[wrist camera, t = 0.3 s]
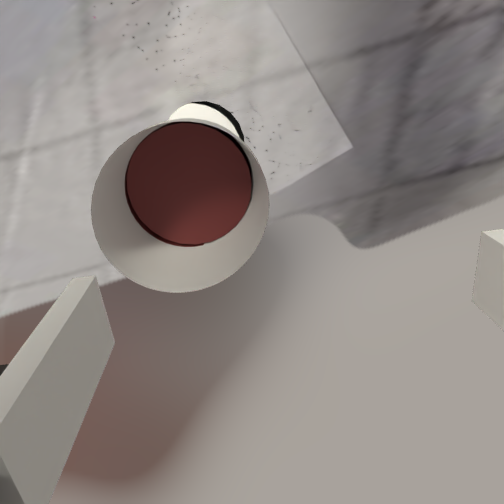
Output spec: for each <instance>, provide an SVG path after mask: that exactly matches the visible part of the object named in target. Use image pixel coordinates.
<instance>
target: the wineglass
mask: <svg viewBox="0 0 504 504" xmlns="http://www.w3.org/2000/svg"><path fill="white" fill-rule="evenodd" d="M268 215H269V192H268V187H267V183H266V179H265V176H264V174H263V172H262V169H261V167H260V165H259V162H258V160H257V158H256V157H255V155H254V154H253V152H252V151H251V149H250V148H249V147H248V146H247V145H246V144H245V143H244V135H243V132H242V130H241V127H240V124H239V123H238V121H237V120H236V119H235V118H234V116H233V115H232V114H231V113H230V112H229V111H228V110H226V109H225V108H223V107H222V106H220V105H218V104H214V103H211V102H207V101H202V102H192V103H189V104H187V105H184V106H182V107H180V108H179V109H178V110H177V111H176V112H174V113H173V114H172V115H171V116H170V118H169V120H168V121H164V122H162V123H159V124H156V125H153V126H151V127H148V128H146V129H145V130H143V131H141V132H139V133H138V134H136V135H134V136H132V137H131V138H129V139H128V140H127V141H126V142H124V143H123V144H122V145H120V146H119V147H118V148H117V150H116V151H115V152H114V153H113V154H112V155H111V156H110V157H109V159H108V160H107V162H106V163H105V165H104V166H103V168H102V169H101V172H100V174H99V176H98V178H97V181H96V183H95V187H94V191H93V195H92V205H91V216H92V225H93V229H94V233H95V237H96V239H97V241H98V244H99V246H100V248H101V250H102V251H103V253H104V254H105V256H106V258H107V259H108V260H109V261H110V263H111V264H112V265H113V266H114V267H115V268H116V269H117V270H118V271H119V272H121V273H122V274H123V275H124V276H126V277H127V278H129V279H130V280H132V281H134V282H135V283H137V284H140V285H142V286H144V287H147V288H149V289H154V290H158V291H162V292H172V293H178V292H191V291H197V290H201V289H204V288H207V287H210V286H213V285H215V284H217V283H219V282H221V281H223V280H225V279H226V278H228V277H229V276H231V275H232V274H234V273H235V272H236V271H237V270H239V269H240V268H241V267H242V266H243V265H244V264H245V263H246V262H247V261H248V259H249V258H250V257H251V256H252V255H253V253H254V251H255V250H256V248H257V247H258V245H259V243H260V241H261V239H262V237H263V234H264V232H265V229H266V225H267V221H268Z"/></svg>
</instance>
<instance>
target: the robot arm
mask: <svg viewBox="0 0 504 504" xmlns="http://www.w3.org/2000/svg"><path fill="white" fill-rule="evenodd" d="M472 302H473V303H474V304H475V305H476V306H477V307H478V308H480V309H481V310H482V311H483V312H484V313H485V314H486V315H487V316H488V317H489V318H490V319H491V320H492V321H493V322H494V323H495V324H496V325H498V326H499V327H500V328H501V329H502V330H503V331H504V229H498V230H490V231H482V232H481V239H480V246H479V253H478V260H477V267H476V274H475V281H474V288H473V295H472ZM114 344H115V340H114V337H113V334H112V330H111V327H110V323H109V320H108V316H107V313H106V310H105V306H104V303H103V299H102V296H101V293H100V289H99V285H98V282H97V279H96V276H88V277H79V278H73V279H72V280H71V281H70V283H69V284H68V286H67V287H66V288H65V290H64V291H63V292H62V294H61V295H60V296H59V298H58V299H57V300H56V302H55V303H54V304H53V306H52V307H51V309H50V310H49V311H48V312H47V314H46V315H45V316H44V318H43V319H42V321H41V322H40V323H39V325H38V326H37V327H36V329H35V330H34V331H33V333H32V334H31V335H30V337H29V338H28V339H27V341H26V342H25V343H24V345H23V346H22V347H21V349H20V351H19V352H18V353H17V354H16V356H15V357H14V359H13V360H12V361H11V363H10V364H6V365H0V504H49V502H50V499H51V497H52V495H53V492H54V490H55V487H56V485H57V482H58V480H59V477H60V475H61V473H62V470H63V468H64V465H65V463H66V461H67V458H68V456H69V453H70V451H71V448H72V446H73V444H74V441H75V439H76V436H77V434H78V431H79V429H80V427H81V424H82V422H83V419H84V417H85V414H86V412H87V410H88V407H89V405H90V402H91V400H92V397H93V395H94V393H95V390H96V388H97V385H98V383H99V380H100V378H101V375H102V373H103V371H104V368H105V366H106V363H107V361H108V359H109V356H110V354H111V351H112V349H113V346H114Z"/></svg>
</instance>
